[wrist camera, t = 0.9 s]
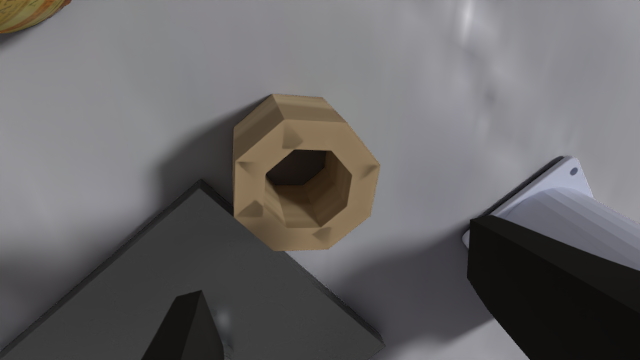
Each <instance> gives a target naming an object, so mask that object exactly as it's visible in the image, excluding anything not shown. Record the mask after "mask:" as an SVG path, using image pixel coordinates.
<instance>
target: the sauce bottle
mask: <svg viewBox="0 0 640 360" xmlns="http://www.w3.org/2000/svg"><path fill="white" fill-rule="evenodd" d="M70 2H71V0H0V33H12V32H16V31H19V30H22V29H25V28H28V27H30V26H33V25H36V24H37V23H39V22H41V21H43V20H45V19H47V18H50V17H51V16H53V15H54V14H55V13H56V12H58V11H59V10H60V9H62V8H63V7H64V6H66V5H68V4H69V3H70Z"/></svg>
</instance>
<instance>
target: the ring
mask: <svg viewBox="0 0 640 360" xmlns="http://www.w3.org/2000/svg"><path fill="white" fill-rule="evenodd" d="M294 149H303V150H327V152H326V160H325V167H324V168H323V169H322V170H321V171H320V172H319V173H317V174H316V175H315V176H314V177H313V178H311V179H310V180H309V181H308V182H306V183H305V184H304V185H275V184H274V183H273V182H272V181H271V180H270V179H269V178H268V177H267V176H266V173H267V172H268V171H269V170H270V169H272V168H273V167H274V166H275V165H276V164H277V163H279V162H280V161H281V160H282V159H283V158H285V157H286V156H287V155H288V154H289V153H291V152H292V151H293V150H294ZM379 170H380V164H379V162H378V161H377V160H376V159H375V157H374V156H373V155H372V154H371V152H370V151H369V150H368V148H367V147H366V146H365V145H364V143H363V142H362V141H361V140H360V138H359V137H358V136H357V134H356V133H355V132H354V131H353V129H352V128H351V127H350V126H349V124H348V123H347V122H346V121H345V120H344V119H343V118H342V117H341V116H340V115H339V114H338V113H337V112H336V111H335V110H334V109H333V108H332V107H331V106H330V105H329V104H328V103H327V102H326V101H325V100H324V99H323V98H322V97H308V96H294V95H279V94H271V95H270V96H269V97H268V98H267V99H266V100H265V101H263V102H262V103H261V104H260V105H259V106H258V107H257V108H255V109H254V110H253V111H252V112H251V113H250V114H249V115H247V116H246V117H245V118H244V119H243V120H242V121H241V122H239V123H238V124H237V125H236V126H235V127H234V128H233V169H232V179H233V206H234V218H235V219H236V220H238V221H239V222H240V223H241V224H242V225H243V226H245V227H246V228H247V229H248V230H249V231H251V232H252V233H253V234H254V235H255V236H256V237H258V238H259V239H260V240H261V241H262V242H263V243H265V244H266V245H267V246H268V247H269V248H271V249H272V250H273V251H295V250H324V249H329V248H330V247H332V246H333V245H334V244H335V243H337V242H338V241H339V240H340V239H342V238H343V237H344V236H345V235H347V234H348V233H349V232H351V231H352V230H353V229H354V228H356V227H357V226H358V225H359V224H361V223H362V222H363V221H364V220H366V219H367V218H368V217H369V216H370V215H371V210H372V205H373V200H374V195H375V190H376V185H377V180H378V175H379Z"/></svg>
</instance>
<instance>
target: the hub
mask: <svg viewBox="0 0 640 360" xmlns="http://www.w3.org/2000/svg"><path fill="white" fill-rule="evenodd" d="M199 290H202V291H203V294H204V297H205V299H206V302H207V305H208V307H209V310H210V312H211V315H212V318H213V320H214V323H215V326H216V328H217V331H218V333H219V336H220V339H221V341H222V344H223V347H224V360H368V359H369V358H370V357H372V356H373V355H375V354H376V353H377V352H379V351H380V350H381V349H383V348H384V347H385V344H384V342H383V340H382V338H381V335H380V334H379V333H378V332H377V331H376V330H375V329H373V328H372V327H371V326H370V325H369V324H368V323H366V322H365V321H364V320H363V319H362V318H361V317H360V316H358V315H357V314H356V313H355V312H354V311H353V310H351V309H350V308H349V307H348V306H347V305H346V304H345V303H343V302H342V301H341V300H340V299H339V298H338V297H336V296H335V295H334V294H333V293H332V292H331V291H330V290H328V289H327V288H326V287H325V286H324V285H323V284H321V283H320V282H319V281H318V280H317V279H316V278H315V277H313V276H312V275H311V274H310V273H309V272H308V271H306V270H305V269H304V268H303V267H302V266H301V265H300V264H298V263H297V262H296V261H295V260H294V259H293V258H291V257H290V256H289V255H288V254H287V253H286V252H285V251H273V250H272V249H271V248H269V247H268V246H267V245H266V244H265V243H263V242H262V241H261V240H260V239H259V238H258V237H256V236H255V235H254V234H253V233H252V232H251V231H249V230H248V229H247V228H246V227H245V226H243V225H242V224H241V223H240V222H239V221H238V220H236V219H235V218H234V207H233V206H231V205H230V204H229V203H228V202H227V201H226V200H225V199H223V198H222V197H221V196H220V195H219V194H218V193H216V192H215V191H214V190H213V189H212V188H211V187H210V186H208V185H207V184H206V183H205V182H204V181H203V180H201V179H200V180H199V181H198V182H197V183H195V184H194V185H193V186H192V187H191V188H190V189H188V190H187V191H186V192H185V193H184V194H183V195H181V196H180V197H179V198H178V199H177V200H176V201H175V202H173V203H172V204H171V205H170V206H169V207H168V208H166V209H165V210H164V211H163V212H162V213H161V214H159V215H158V216H157V217H156V218H155V219H154V220H153V221H151V222H150V223H149V224H148V225H147V226H146V227H144V228H143V229H142V230H141V231H140V232H139V233H137V234H136V235H135V236H134V237H133V238H132V239H130V240H129V241H128V242H127V243H126V244H125V245H124V246H122V247H121V248H120V249H119V250H118V251H117V252H115V253H114V254H113V255H112V256H111V257H110V258H108V259H107V260H106V261H105V262H104V263H103V264H102V265H100V266H99V267H98V268H97V269H96V270H95V271H93V272H92V273H91V274H90V275H89V276H88V277H86V278H85V279H84V280H83V281H82V282H81V283H80V284H78V285H77V286H76V287H75V288H74V289H73V290H71V291H70V292H69V293H68V294H67V295H66V296H64V297H63V298H62V299H61V300H60V301H59V302H57V303H56V304H55V305H54V306H53V307H52V308H51V309H49V310H48V311H47V312H46V313H45V314H44V315H42V316H41V317H40V318H39V319H38V320H37V321H35V322H34V323H33V324H32V325H31V326H30V327H29V328H27V329H26V330H25V331H24V332H23V333H22V334H20V335H19V336H18V337H17V338H16V339H15V340H13V341H12V342H11V343H10V344H9V345H8V346H7V347H5V348H4V349H3V350H2V351H1V352H0V360H141V359H142V357H143V355H144V353H145V352H146V350H147V348H148V346H149V345H150V343H151V341H152V339H153V337H154V336H155V334H156V332H157V330H158V328H159V327H160V325H161V323H162V321H163V319H164V317H165V315H166V314H167V312H168V310H169V308H170V306H171V304H172V303H173V301H174V299H175V298H176V297H177V296H180V295H184V294H188V293H191V292H195V291H199Z"/></svg>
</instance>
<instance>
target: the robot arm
mask: <svg viewBox="0 0 640 360" xmlns="http://www.w3.org/2000/svg"><path fill="white" fill-rule="evenodd" d="M462 240H463V243H464V244H465V245H466V247H467V248H468V249H469V251H468V268H467V278H468V280H469V281H470V283H471V285H472V286H473V288H474V289H475V291H476V293H477V294H478V296H479V297H480V299H481V300H482V302H483V303H484V305H485V306H486V308H487V309H488V310H489V312H490V313H491V314H492V315H493V317H494V318H495V319H496V320H497V321H498V323H499V324H500V325H501V326H502V327H503V329H504V330H505V331H506V332H507V333H508V335H509V336H510V337H511V338H512V339H513V340H514V342H515V343H516V344H517V345H518V346H519V347H520V349H521V350H522V351H523V352H524V353H525V355H526V356H527V357H528V358H529V359H530V360H640V224H639V223H637V222H635V221H634V220H632V219H630V218H628V217H626V216H624V215H622V214H621V213H619V212H617V211H615V210H613V209H611V208H610V207H608V206H606V205H604V204H602V203H600V202H599V201H597V200H595V199H594V197H593V195H592V192H591V190H590V187H589V185H588V183H587V180H586V178H585V175H584V173H583V171H582V168H581V166H580V163H579V161H578V159H577V158H575V157H573V156H566V157H565V158H563V159H562V160H560V161H559V162H558V163H556V164H555V165H554V166H552V167H551V168H550V169H549V170H547V171H546V172H545V173H543V174H542V175H541V176H539V177H538V178H537V179H535V180H534V181H533V182H531V183H530V184H529V185H527V186H526V187H525V188H523V189H522V190H521V191H520V192H518V193H517V194H516V195H514V196H513V197H512V198H510V199H509V200H508V201H506V202H505V203H504V204H502V205H501V206H500V207H498V208H497V209H496V210H494V211H493V212H492V213H491V214H489V215H487V216H483V217H479V218H475V219H471V220H470V229H469V230H468V231H467V232H466V233H465V234H464V235H463V237H462ZM141 360H224V347H223V344H222V341H221V339H220V336H219V333H218V331H217V328H216V326H215V323H214V320H213V318H212V315H211V312H210V310H209V307H208V305H207V302H206V299H205V297H204V294H203V291H202V290H199V291H195V292H191V293H188V294H184V295H180V296H177V297H176V298H175V299H174V301H173V303H172V304H171V306H170V308H169V310H168V312H167V314H166V315H165V317H164V319H163V321H162V323H161V325H160V327H159V328H158V330H157V332H156V334H155V336H154V337H153V339H152V341H151V343H150V345H149V346H148V348H147V350H146V352H145V353H144V355H143V357H142V359H141Z"/></svg>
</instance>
